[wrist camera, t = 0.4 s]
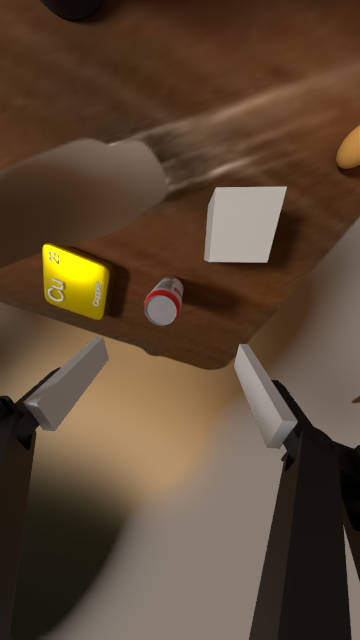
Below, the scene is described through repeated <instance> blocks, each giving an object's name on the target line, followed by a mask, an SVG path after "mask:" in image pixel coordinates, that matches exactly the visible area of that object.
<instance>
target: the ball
mask: <svg viewBox="0 0 360 640" xmlns="http://www.w3.org/2000/svg"><path fill="white" fill-rule="evenodd" d="M336 162H337V164H338V166H339V167H341V168H343V169H349V168H353V167H356V166H358V165H360V125H359V126H358V127H357V128H355V129H354V130H353V131H352V132H351V133H350V134H349V135H348V136H347V137H346V138H345V140H344V141H343V143H342V144H341V146H340V148H339V150H338V152H337V156H336Z"/></svg>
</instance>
